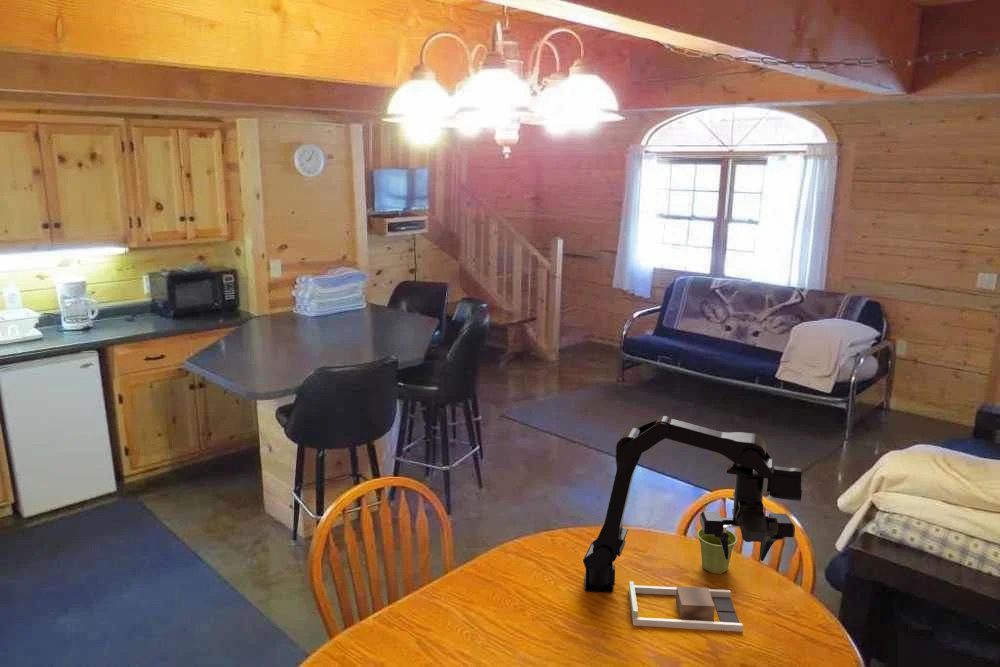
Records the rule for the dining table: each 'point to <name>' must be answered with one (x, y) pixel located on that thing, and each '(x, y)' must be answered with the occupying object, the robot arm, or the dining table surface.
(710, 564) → the plant pot
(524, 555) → the dining table surface
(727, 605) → the pads
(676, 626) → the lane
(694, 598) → the walnut block
